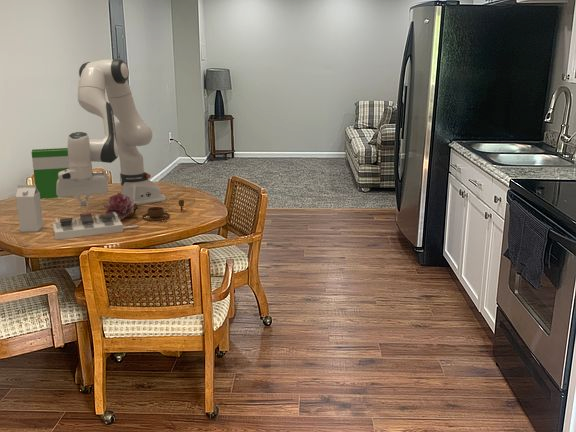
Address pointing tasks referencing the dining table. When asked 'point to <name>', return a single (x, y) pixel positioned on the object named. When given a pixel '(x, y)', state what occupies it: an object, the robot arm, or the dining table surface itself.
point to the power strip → (88, 227)
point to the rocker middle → (86, 218)
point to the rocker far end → (66, 220)
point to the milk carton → (29, 208)
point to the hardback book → (49, 169)
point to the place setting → (159, 213)
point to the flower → (121, 206)
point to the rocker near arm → (106, 216)
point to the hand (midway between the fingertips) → (83, 205)
